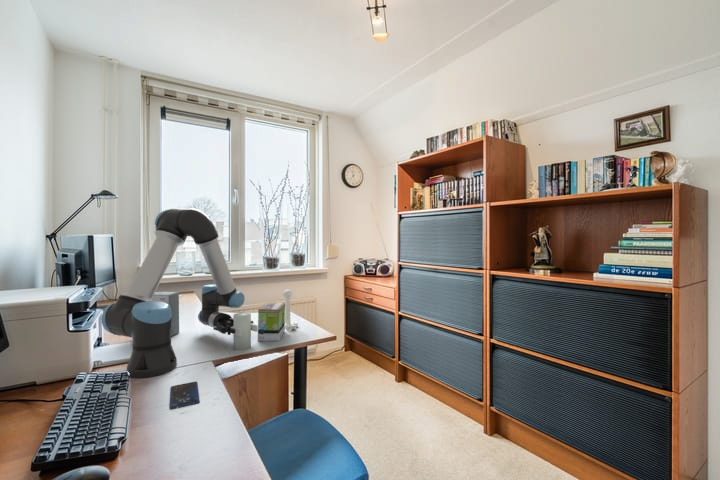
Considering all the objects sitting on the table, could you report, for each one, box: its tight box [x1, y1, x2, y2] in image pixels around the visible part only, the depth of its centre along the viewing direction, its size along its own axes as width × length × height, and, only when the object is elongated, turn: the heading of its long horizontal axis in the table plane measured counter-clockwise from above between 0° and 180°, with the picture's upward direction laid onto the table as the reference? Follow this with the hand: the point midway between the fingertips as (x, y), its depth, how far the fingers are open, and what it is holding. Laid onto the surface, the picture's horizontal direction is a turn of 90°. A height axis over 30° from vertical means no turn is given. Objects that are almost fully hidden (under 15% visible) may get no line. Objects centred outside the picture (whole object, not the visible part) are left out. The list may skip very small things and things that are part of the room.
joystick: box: [283, 289, 299, 331], centre depth 169 cm, size 11×8×20 cm
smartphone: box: [168, 381, 201, 410], centre depth 98 cm, size 8×1×15 cm
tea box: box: [257, 302, 286, 342], centre depth 155 cm, size 15×10×15 cm
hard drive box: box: [152, 291, 180, 337], centre depth 155 cm, size 16×8×20 cm, turn 84°
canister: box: [233, 312, 252, 351], centre depth 140 cm, size 7×7×14 cm
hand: (248, 330), depth 137 cm, fingers closed on canister, 7 cm apart
